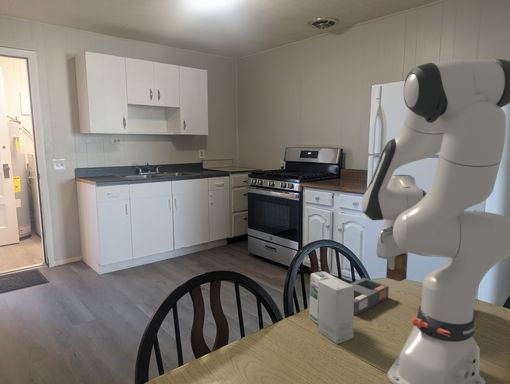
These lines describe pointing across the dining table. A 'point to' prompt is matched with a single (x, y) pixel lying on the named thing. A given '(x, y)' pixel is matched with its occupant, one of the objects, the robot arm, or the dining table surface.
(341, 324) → the skincare box
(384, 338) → the dining table surface
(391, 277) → the walnut plug
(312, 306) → the syrup box
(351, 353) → the dining table surface
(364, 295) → the socket block
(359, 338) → the dining table surface
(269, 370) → the dining table surface
